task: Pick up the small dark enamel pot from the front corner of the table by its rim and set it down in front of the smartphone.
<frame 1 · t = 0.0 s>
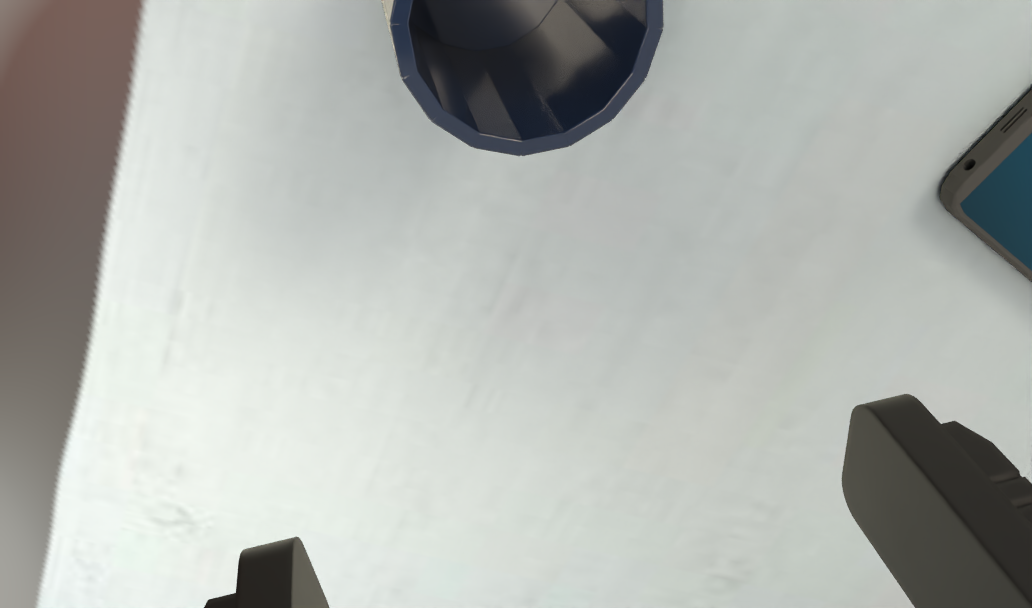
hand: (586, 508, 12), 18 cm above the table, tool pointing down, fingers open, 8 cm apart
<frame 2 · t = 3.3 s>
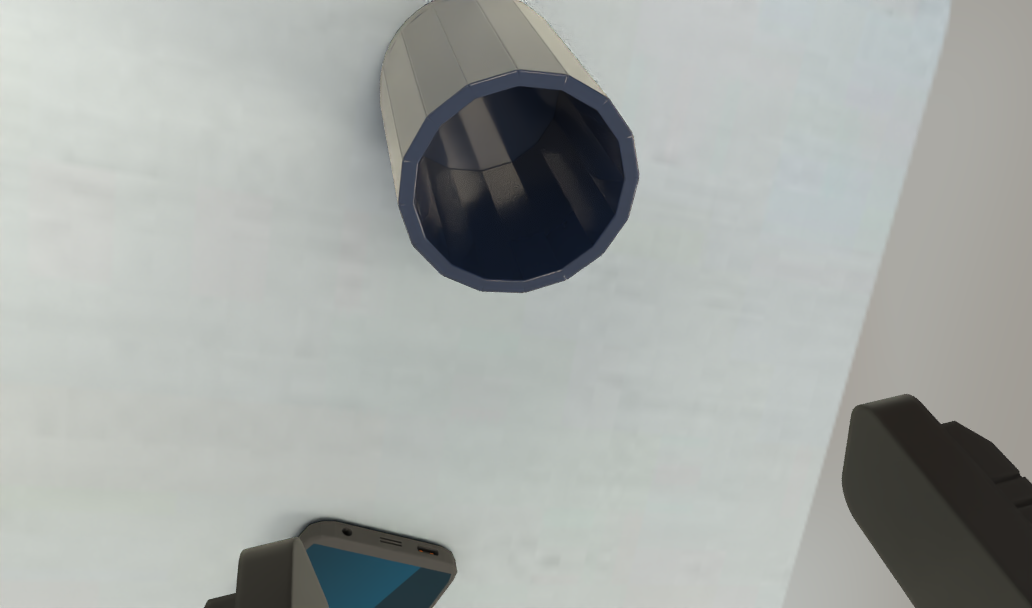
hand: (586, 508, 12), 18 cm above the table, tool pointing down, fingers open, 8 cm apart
pot: (474, 87, 27), on the table
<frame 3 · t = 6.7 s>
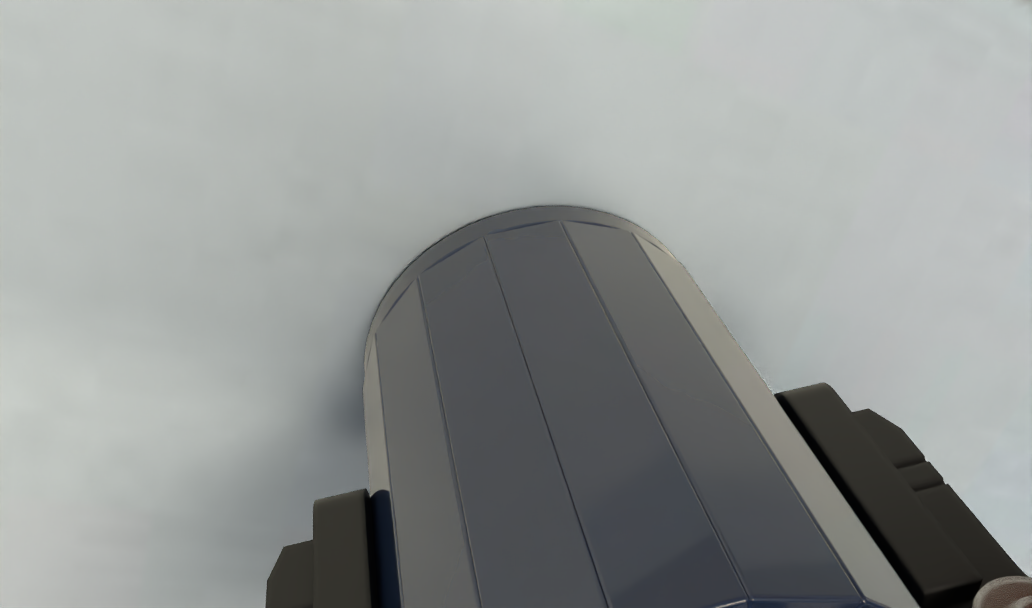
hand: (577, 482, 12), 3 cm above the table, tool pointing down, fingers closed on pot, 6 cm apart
pot: (534, 355, 15), on the table, touching gripper
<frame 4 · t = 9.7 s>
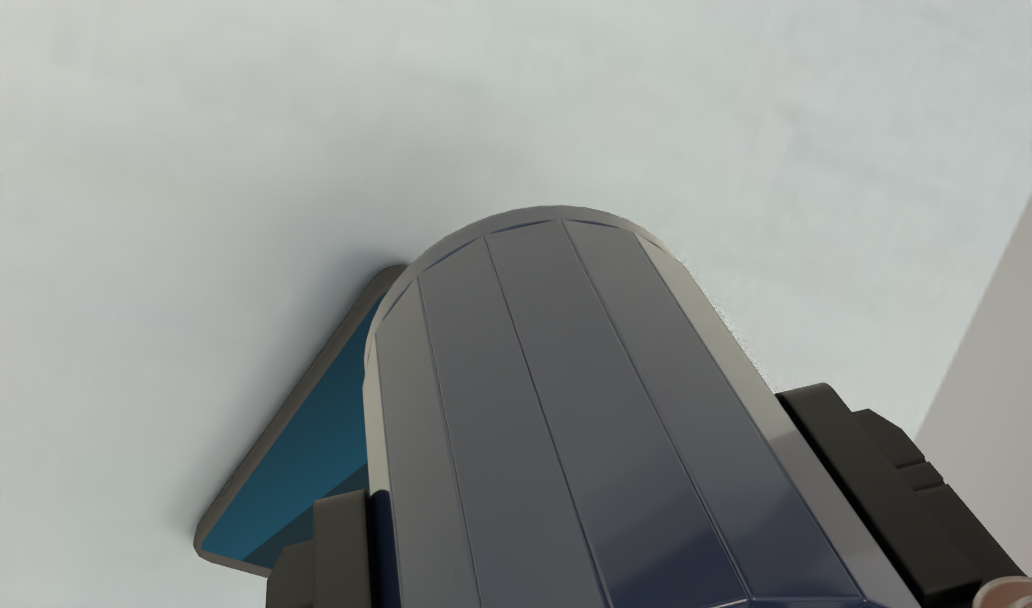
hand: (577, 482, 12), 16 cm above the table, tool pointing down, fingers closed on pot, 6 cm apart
pot: (534, 354, 15), point 13 cm above the table, touching gripper
smartphone: (367, 439, 32), on the table
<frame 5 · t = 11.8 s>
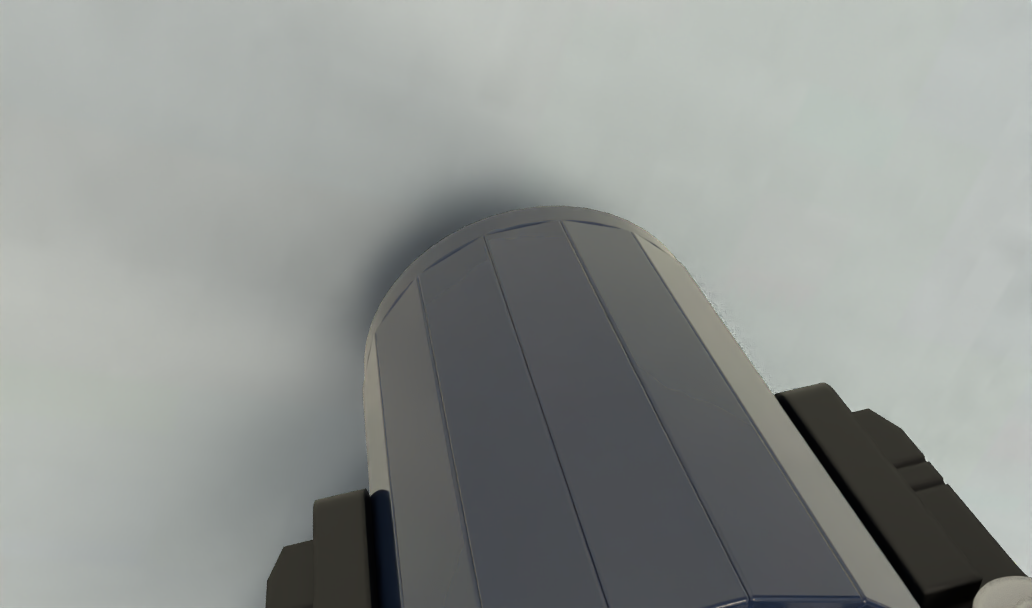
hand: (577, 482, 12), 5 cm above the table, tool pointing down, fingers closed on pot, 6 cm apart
pot: (534, 354, 15), point 2 cm above the table, touching gripper
when the fingers open (3 cm above the table, at t = 13.1 s): pot stays where it is, on the table.
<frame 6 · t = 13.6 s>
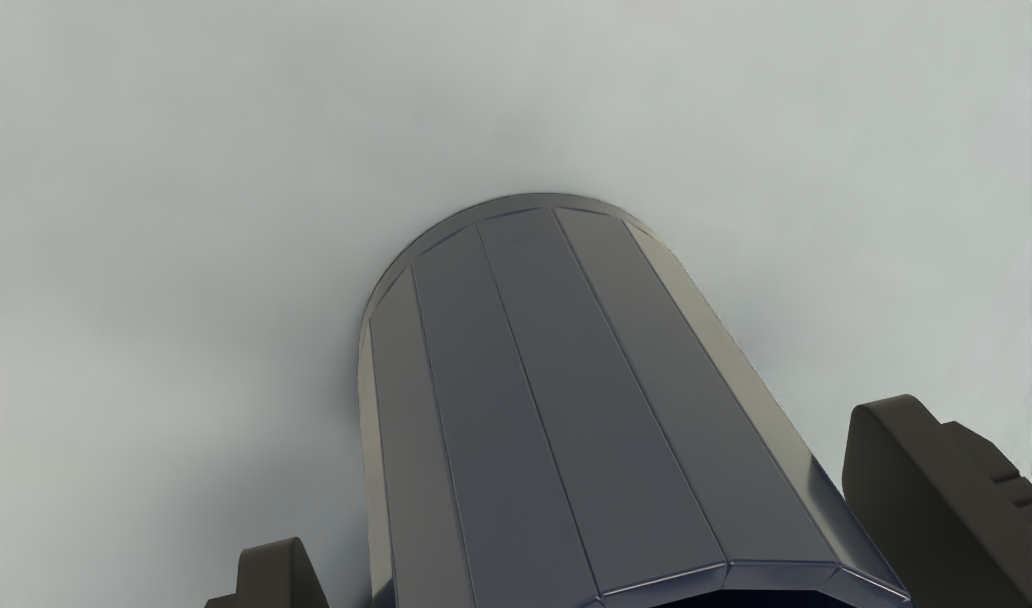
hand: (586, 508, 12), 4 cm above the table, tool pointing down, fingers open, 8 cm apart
pot: (526, 341, 15), on the table
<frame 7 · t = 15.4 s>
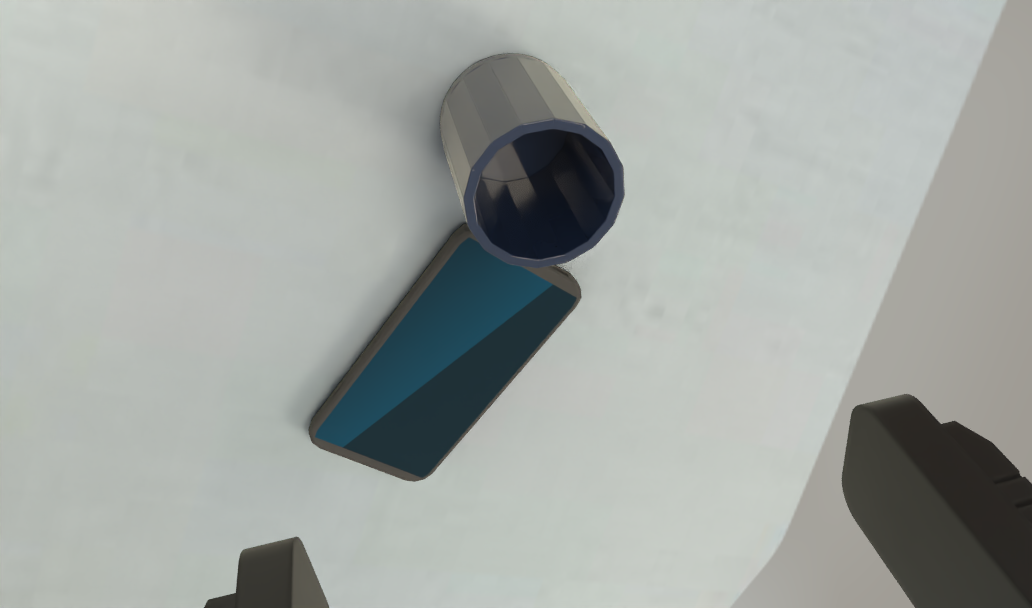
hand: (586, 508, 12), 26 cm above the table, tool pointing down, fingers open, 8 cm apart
pot: (507, 120, 37), on the table
smartphone: (440, 355, 43), on the table
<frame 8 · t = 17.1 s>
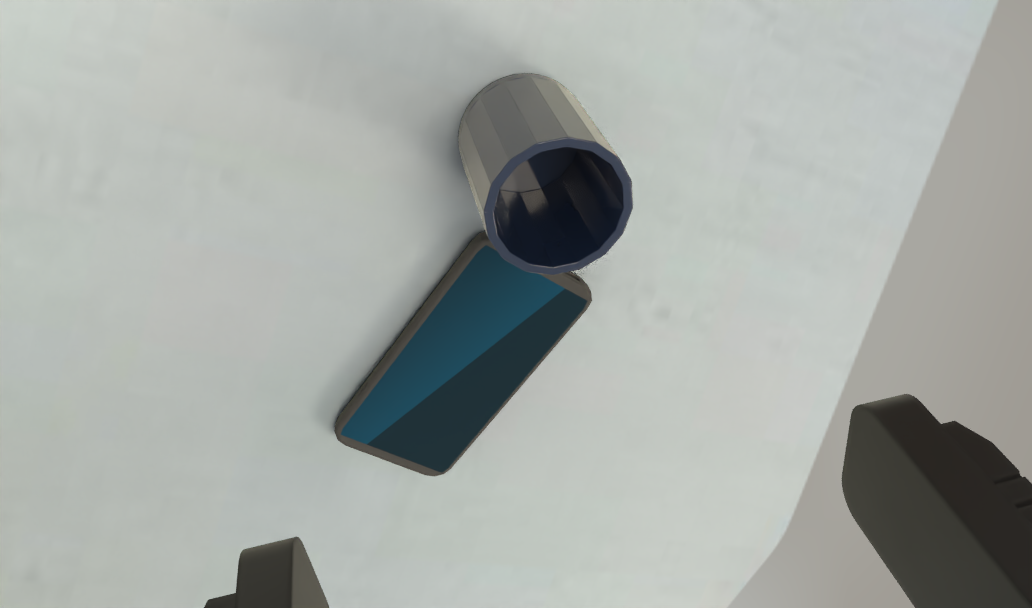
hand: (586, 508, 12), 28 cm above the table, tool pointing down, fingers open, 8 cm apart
pot: (521, 135, 39), on the table
smartphone: (458, 356, 46), on the table
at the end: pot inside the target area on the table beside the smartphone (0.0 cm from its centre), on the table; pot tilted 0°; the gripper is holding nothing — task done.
